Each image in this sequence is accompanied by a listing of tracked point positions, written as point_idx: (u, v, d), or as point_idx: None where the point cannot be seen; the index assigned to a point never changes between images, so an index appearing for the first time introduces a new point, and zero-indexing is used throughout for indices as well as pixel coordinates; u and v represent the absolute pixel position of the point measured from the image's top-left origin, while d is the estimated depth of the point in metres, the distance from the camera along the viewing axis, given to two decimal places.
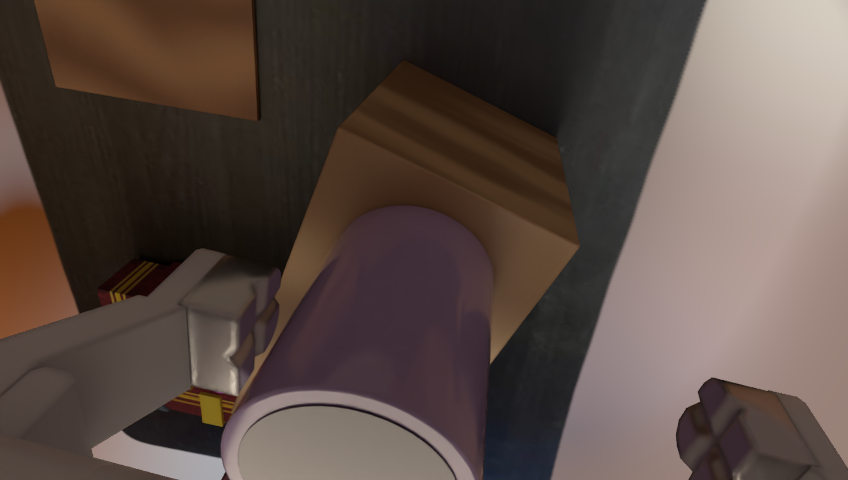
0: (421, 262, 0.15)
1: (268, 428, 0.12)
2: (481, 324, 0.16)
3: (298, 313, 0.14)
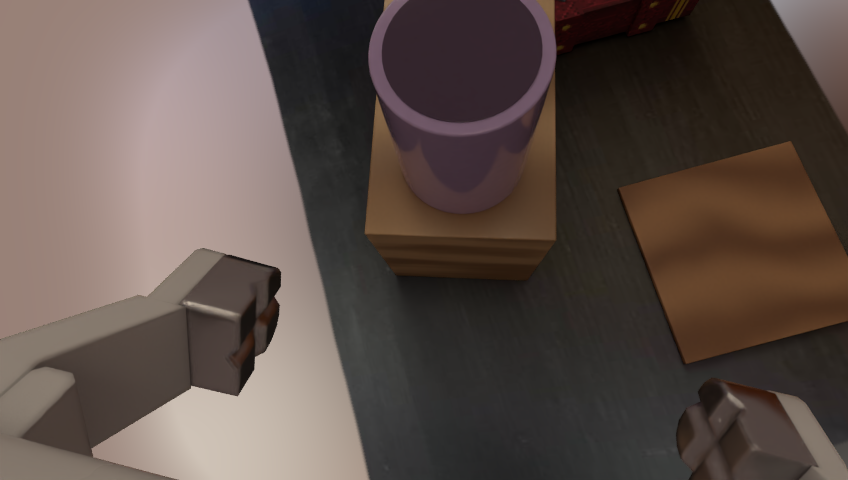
0: (469, 190, 0.22)
1: (528, 70, 0.17)
2: (411, 169, 0.22)
3: (536, 128, 0.20)
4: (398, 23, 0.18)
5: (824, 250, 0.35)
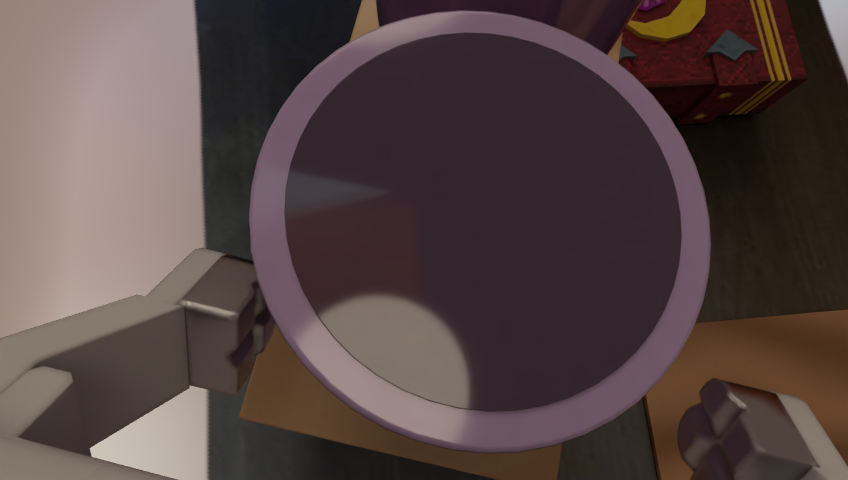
0: None
1: (640, 293, 0.07)
2: None
3: None
4: (348, 101, 0.07)
5: None
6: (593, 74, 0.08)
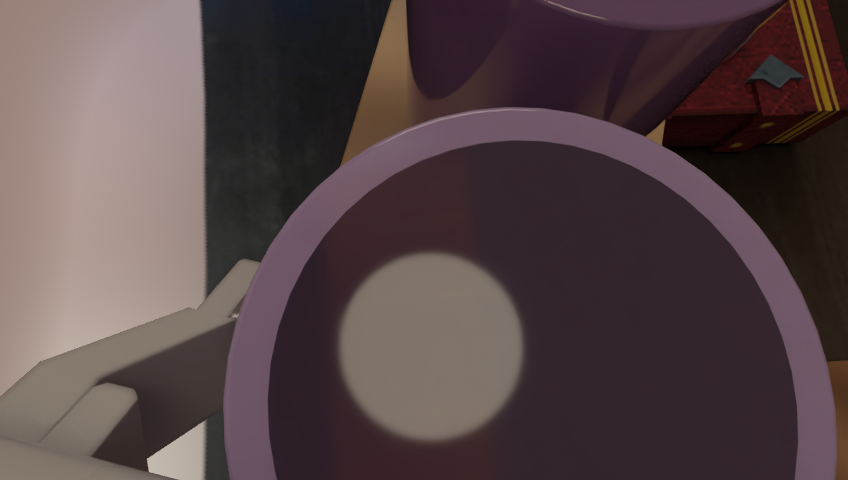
0: None
1: None
2: None
3: None
4: (356, 238, 0.06)
5: None
6: (680, 199, 0.06)
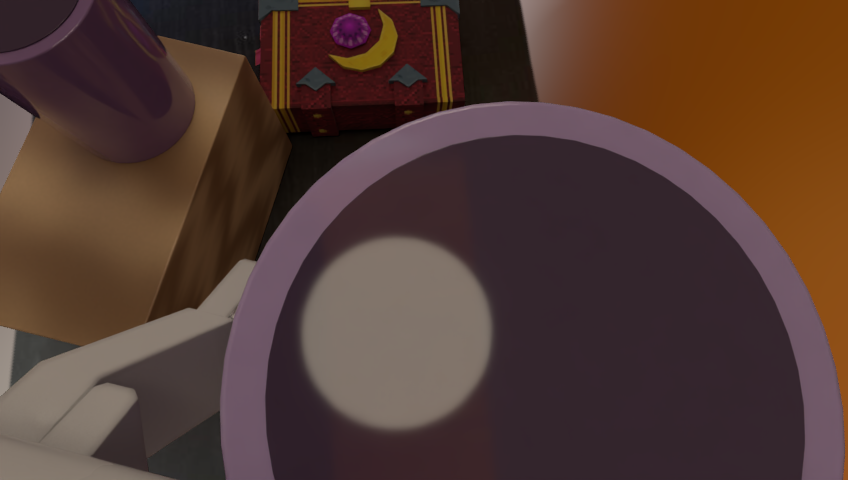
0: None
1: None
2: None
3: None
4: (355, 235, 0.06)
5: None
6: (685, 195, 0.06)
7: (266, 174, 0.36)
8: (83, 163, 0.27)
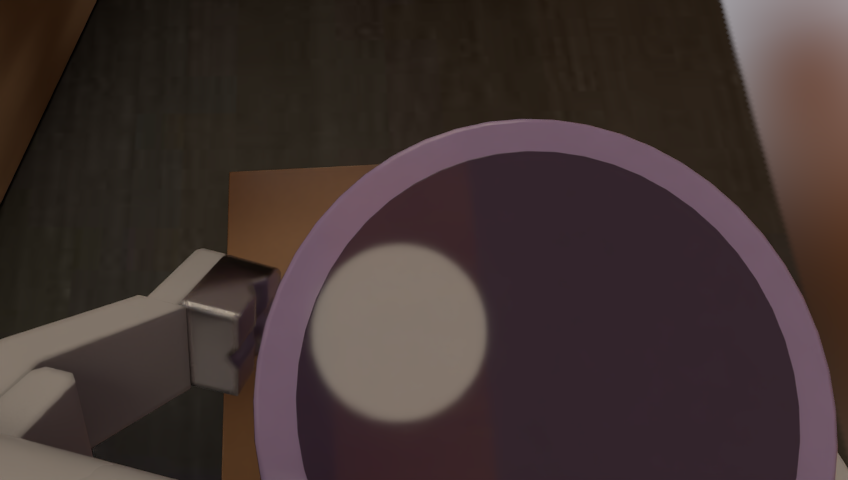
0: None
1: None
2: None
3: None
4: (378, 246, 0.06)
5: None
6: (688, 208, 0.06)
7: None
8: None
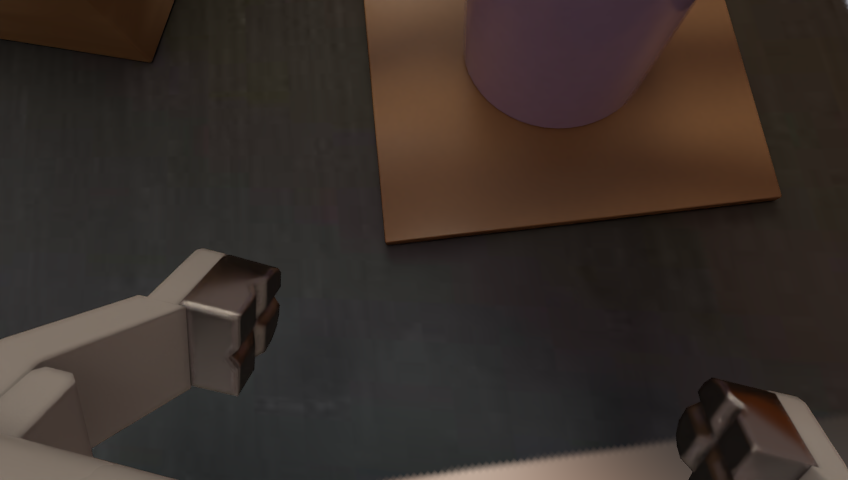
0: (575, 71, 0.14)
1: None
2: (493, 21, 0.14)
3: None
4: None
5: (707, 70, 0.18)
6: None
7: None
8: None
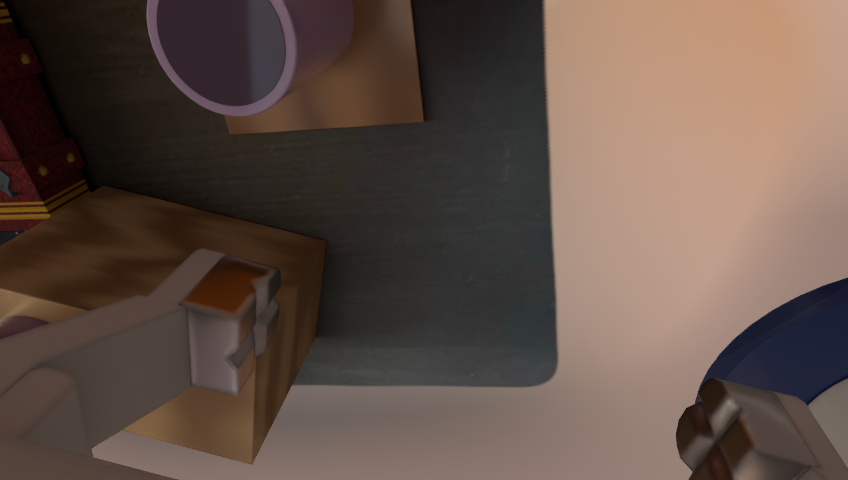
0: (336, 29, 0.26)
1: None
2: (313, 77, 0.26)
3: None
4: (198, 86, 0.22)
5: None
6: None
7: (124, 217, 0.34)
8: None
